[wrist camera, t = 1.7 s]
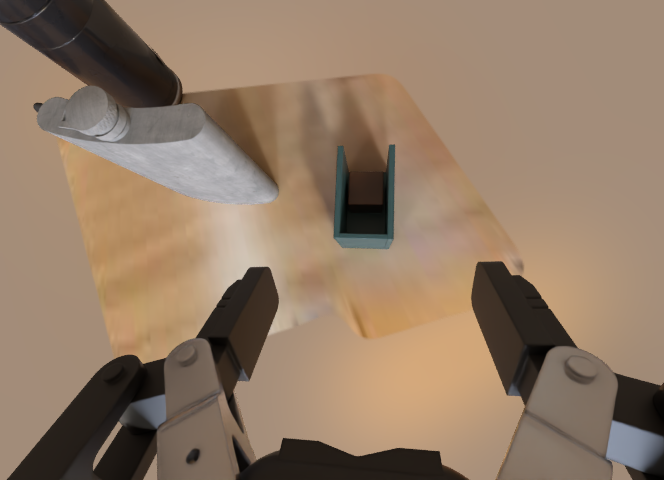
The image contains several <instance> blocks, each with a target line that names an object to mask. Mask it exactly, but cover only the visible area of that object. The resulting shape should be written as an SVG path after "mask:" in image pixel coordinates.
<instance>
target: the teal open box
mask: <svg viewBox="0 0 664 480" xmlns="http://www.w3.org/2000/svg"><path fill="white" fill-rule="evenodd" d="M394 176H395V145H389V151H388V159H387V168H386V172H384V180H383V208H382V213H351V212H350V209H349V205H348V192H349V170H348V166H347V161H346V156H345V152H344V147H343V146H338V154H337V175H336V196H335V217H334V239H335V240H336V241H337V242H338V243H339V245H340V246H341V247H342V248H373V249H389V247H390V245H391V243H392V241H393V236H394Z"/></svg>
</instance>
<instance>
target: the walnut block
mask: <svg viewBox="0 0 664 480" xmlns="http://www.w3.org/2000/svg"><path fill="white" fill-rule="evenodd" d="M383 180H384V172H349V192H348V205H349V209H350V212H351V213H382V208H383Z"/></svg>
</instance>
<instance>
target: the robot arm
mask: <svg viewBox="0 0 664 480" xmlns="http://www.w3.org/2000/svg"><path fill="white" fill-rule="evenodd" d="M0 25H2V26H3V27H4V28H6V29H7V30H9V31H10V32H12V33H13V34H15V35H16V36H17V37H19V38H20V39H22V40H23V41H25V42H26V43H28V44H29V45H30V46H32V47H34V48H35V49H36V50H38V51H39V52H41V53H42V54H44V55H45V56H46V57H48V58H49V59H51V60H52V61H54V62H55V63H56V64H58V65H59V66H61V67H62V68H64V69H65V70H67V71H68V72H69V73H71V74H72V75H74V76H75V77H77V78H78V79H80V80H81V81H82V82H84V83H86V84H87V85H88V86H90V85H91V86H96V87H99V88H101V89H103V90H104V91H105V92H107V93H108V94H109V95H111V96H112V97H113V98H114V100H115V102H116V103H118V104H119V105H121V106H122V107H123V108H152V107H165V106H173V105H179V103H180V101H181V98H182V84H181V82H180V79H179V78H178V77H177V76H176V74H175V73H174V72H173V71H172V70H171V69H169V68H168V67H167V66H166V65H165V63H164V62H163V61H162V59H161V58H160V57H159V56H158V54H157V53H156V52H155V51H154V52H155V53H156V54H155V53H154V52H153V51H152V50H153V49H152V50H151V49H150V48H149V47H148V46H147V44H146V43H145V42H144V41H143V40H142V39H141V38H140V37H139V36H138V35H137V34H136V33H135V32H134V31H133V30H132V29H131V28H130V27H129V26H128V25H127V24H126V22H125V21H124V20H123V19H122V18H121V17H120V16H119V15H118V14H117V13H116V12H115V11H114V10H113V9H112V8H111V7H110V6H109V5H108V3H107V2H106V1H105V0H0ZM42 105H43V104H42V103H35V104H34V109H35V110H36V111H37V112H38V111H39V109H40V107H41V106H42ZM471 300H472V307H473V310H474V313H475V315H476V318H477V321H478V323H479V326H480V328H481V331H482V333H483V336H484V338H485V341H486V343H487V346H488V348H489V351H490V353H491V356H492V358H493V361H494V363H495V366H496V369H497V371H498V374H499V376H500V379H501V381H502V384H503V386H504V389H505V391H506V394H507V395H509V396H521V397H522V400H523V402H524V405H525V408H524V410H523V413H522V415H521V417H520V420H519V422H518V425H517V427H516V430H515V432H514V435H513V437H512V440H511V442H510V445H509V447H508V450H507V452H506V455H505V458H504V460H503V462H502V465H501V467H500V470H499V472H498V474H497V477H496V479H495V480H612V472H613V466H612V462H611V461H610V460H612V461H615V462H617V463H620V464H623V465H625V467H626V469H627V471H628V472H629V474H630V476H631V478H632V479H633V480H664V383H663V384H662V385H661V386H660V385H656V384H652V383H649V382H645V381H641V380H638V379H634V378H630V377H626V376H623V375H620V374H616V373H614V372H613V371H612V370H611V369H610V368H609V367H608V365H607V364H605V363H604V362H603V361H602V360H600V359H599V358H598V357H596V356H594V355H593V354H591V353H588V352H587V351H584V350H581V349H579V348H577V346H576V345H575V343H574V342H573V341H572V339H571V338H570V336H569V335H568V334H567V332H566V331H565V329H564V328H563V326H562V325H561V324H560V322H559V321H558V319H557V318H556V317H555V315H554V314H553V312H552V311H551V310H550V309H548V305H547V304H546V302H545V301H544V300H543V299H542V298H541V295H540V294H539V293H538V291H537V290H536V288H535V287H534V286H533V285H532V284H531V283H530V282H528V281H527V280H525V279H524V278H523V277H521V276H520V275H511V274H510V272H509V271H508V269H507V268H506V266H505V264H504V263H503V262H501V261H498V262H478V263H477V266H476V271H475V276H474V282H473V288H472V295H471ZM278 303H279V298H278V293H277V289H276V286H275V283H274V280H273V276H272V273H271V270H270V268H269V267H250V268H249V269H248V270H247V272H246V274H245V275H244V277H243V278H242V280H237V281H236V282H235V283H233V284H232V285H231V286H230V287H229V288H228V289H227V290H226V292H225V293H224V295H223V296H222V300H220V301H219V303H218V304H217V307H216V308H215V309H214V310H213V312H212V313H211V315H210V317H209V318H208V320H207V321H206V323H205V324H204V326H203V327H202V329H201V330H200V332H199V334H198V335H197V337H196V338H195V339H190V340H188V341H185V342H183V343H181V344H180V345H178V346H177V347H176V348H175V349H174V350H172V351H171V353H170V354H169V355H168V357H167V358H164V359H160V360H157V361H153V362H149V363H145V364H142V362H141V361H140V360H139V358H138V357H137V356H135V355H125V356H121V357H118V358H116V359H114V360H112V361H110V362H109V363H107V364H106V365H104V366H103V367H102V368H101V369H100V370H99V371H98V372H97V373H96V374H95V375H94V376H93V377H92V378H91V380H90V381H89V382H88V383H87V385H86V386H85V387H84V388H83V389H82V390H81V392H80V393H79V394H78V395H77V396H76V398H75V399H74V400H73V401H72V402H71V404H70V405H69V406H68V407H67V409H66V410H65V411H64V412H63V413H62V414H61V416H60V417H59V418H58V419H57V420H56V422H55V423H54V424H53V425H52V426H51V428H50V429H49V430H48V431H47V432H46V434H45V435H44V436H43V437H42V438H41V439H40V441H39V442H38V443H37V444H36V445H35V447H34V448H33V449H32V450H31V451H30V453H29V454H28V455H27V456H26V457H25V459H24V460H23V461H22V462H21V464H20V465H19V466H18V467H17V468H16V469H15V471H14V472H13V473H12V474H11V475H10V477H9V478H8V479H7V480H143V479H144V476H145V475H146V473H147V471H148V469H149V467H150V465H151V463H152V461H153V459H154V457H155V455H156V453H157V480H469V479H468V478H466V477H465V476H463V475H462V474H460V473H458V472H457V471H455V470H453V469H451V468H449V467H447V466H444V465H442V463H441V457H440V452H439V451H428V450H416V449H405V448H396V449H391V450H387V451H382V452H377V453H373V454H368V455H364V456H354V455H351V454H348V453H346V452H344V451H341V450H339V449H336V448H334V447H332V446H329V445H327V444H324V443H322V442H319V441H310V440H299V439H287V438H283V440H282V444H281V448H280V450H279V451H276V452H273V453H271V454H268V455H266V456H264V457H262V458H260V459H258V460H256V457H255V454H254V452H253V449H252V447H251V445H250V442H249V439H248V435H247V432H246V428H245V425H244V421H243V418H242V414H241V411H240V408H239V404H238V400H237V396H236V393H235V391H234V388H235V386H236V383H237V381H249V380H250V378H251V375H252V373H253V370H254V368H255V365H256V363H257V360H258V357H259V355H260V352H261V350H262V347H263V345H264V342H265V339H266V337H267V335H268V332H269V329H270V327H271V324H272V322H273V319H274V317H275V314H276V312H277V309H278ZM118 421H119V422H120V423H121V424H122V425H123V426H122V427H121V429H120V430H119V432H118V433H117V435H116V437H115V438H114V440H113V441H112V443H111V444H110V446H109V447H108V449H107V451H106V452H105V454H104V455H103V457H102V458H101V460H100V462H99V463H98V465H97V466H96V468H95V469H94V471H93V462H94V459H95V457H96V455H97V453H98V451H99V450H100V448H101V447H102V445H103V444H104V442H105V441H106V439H107V437H108V436H109V435H110V433H111V431H112V430H113V429H114V427H115V425H116V424H117V422H118ZM608 459H609V460H608Z"/></svg>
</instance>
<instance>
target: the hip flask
mask: <svg viewBox="0 0 664 480" xmlns="http://www.w3.org/2000/svg"><path fill="white" fill-rule="evenodd" d="M37 122H38V125H39V126H40V128H41V129H43V130H45V131H47V132H49V133H51V134H53V135H55V136H57V137H60V138H62V139H64V140H66V141H68V142H70V143H73V144H75V145H77V146H79V147H81V148H83V149H85V150H88V151H90V152H92V153H94V154H96V155H98V156H101V157H103V158H105V159H107V160H109V161H111V162H113V163H116V164H118V165H120V166H122V167H124V168H126V169H129V170H131V171H133V172H135V173H137V174H139V175H141V176H144V177H146V178H148V179H150V180H152V181H154V182H157V183H159V184H161V185H163V186H165V187H167V188H169V189H172V190H174V191H176V192H178V193H180V194H183V195H186V196H189V197H192V198H196V199H200V200H205V201H211V202H218V203H227V204H262V203H270V202H272V201H274V200H275V199H276V198H277V196H278V193H279V189H278V186H277V184H276V183H275V182H274V181H273V180H272V179H271V178H270V177H269V176H268V175H267V174H266V173H265V172H264V171H263V170H262V169H261V168H260V167H259V166H258V165H257V164H256V163H255V162H254V161H253V160H252V159H251V158H250V157H249V156H248V155H247V154H246V153H245V152H244V151H243V150H242V149H241V148H240V147H239V146H238V145H237V144H236V143H235V142H234V141H233V140H232V139H231V138H230V136H229V135H228V134H227V133H226V132H225V131H224V130H223V129H222V128H221V127H220V126H219V125H218V124H217V123H216V122H215V121H214V120H213V119H212V118H211V117H210V116H209V115H208V114H207V113H206V112H205V111H204V110H203V109H202V108H201V107H200V106H199V105H197V104H194V103H186V104H180V105H173V106H165V107H152V108H123V107H122V106H121V105H119V104H118V103H116V102H115V100H114V98H113V97H112V96H111V95H109V94H108V93H107V92H105V91H104V90H103V89H101V88H99V87H96V86H91V85H90V86H86V87H83V88H81V89H79V90H78V91H77V92H75V93H74V94H73V95H72V96H71V98H70V99H69V100H68V99H64V98H61V97H54V98H51V99H49V100H47V101H46V102H45V103H44V104H43V105H42V106H41V107H40V109H39V111H38V115H37Z"/></svg>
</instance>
